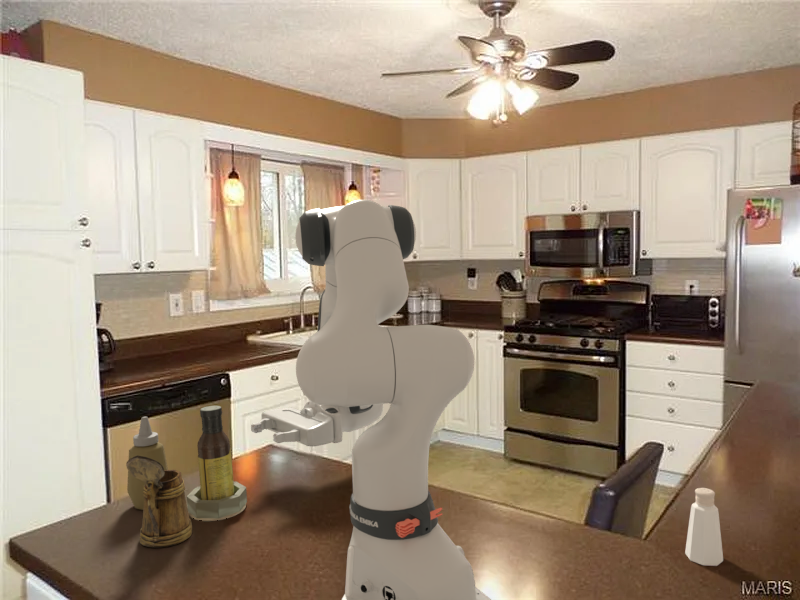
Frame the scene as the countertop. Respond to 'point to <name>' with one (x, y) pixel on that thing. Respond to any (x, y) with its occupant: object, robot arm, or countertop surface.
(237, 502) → the grey faceted bowl
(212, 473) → the sauce bottle
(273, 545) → the countertop surface
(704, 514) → the salt shaker
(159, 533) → the wooden mug
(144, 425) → the squeeze bottle
